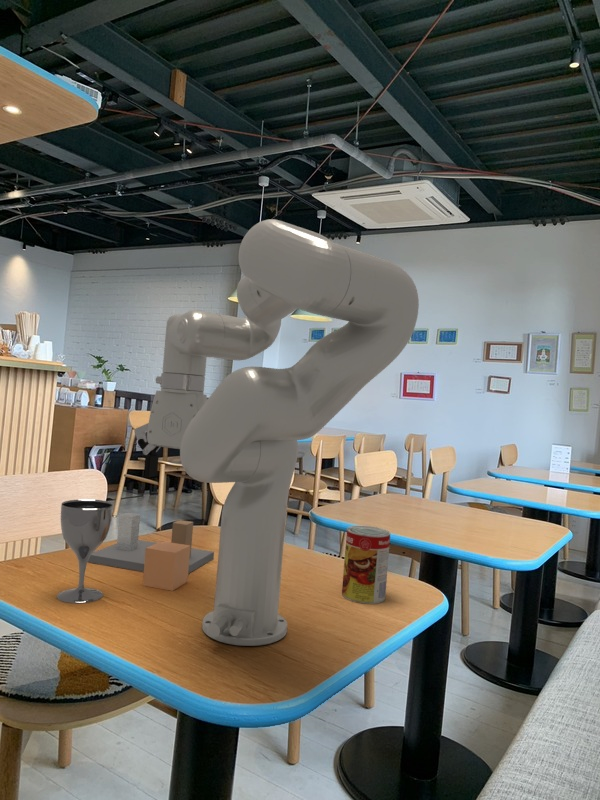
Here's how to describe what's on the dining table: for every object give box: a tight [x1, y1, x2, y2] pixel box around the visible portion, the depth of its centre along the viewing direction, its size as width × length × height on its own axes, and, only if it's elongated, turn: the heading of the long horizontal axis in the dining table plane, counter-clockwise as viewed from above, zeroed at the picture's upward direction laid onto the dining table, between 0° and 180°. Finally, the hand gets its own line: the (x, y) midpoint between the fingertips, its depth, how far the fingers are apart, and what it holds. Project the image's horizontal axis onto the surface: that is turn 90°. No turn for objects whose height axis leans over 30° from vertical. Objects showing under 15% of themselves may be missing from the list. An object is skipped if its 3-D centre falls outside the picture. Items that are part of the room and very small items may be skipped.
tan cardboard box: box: [142, 540, 190, 592], centre depth 105 cm, size 6×6×7 cm
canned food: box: [341, 525, 391, 605], centre depth 107 cm, size 8×8×12 cm
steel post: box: [116, 512, 141, 551], centre depth 120 cm, size 3×3×7 cm
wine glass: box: [56, 498, 114, 604], centre depth 96 cm, size 8×8×15 cm
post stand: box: [87, 519, 215, 575], centre depth 118 cm, size 15×20×8 cm
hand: (174, 479), depth 105 cm, fingers open, 9 cm apart
